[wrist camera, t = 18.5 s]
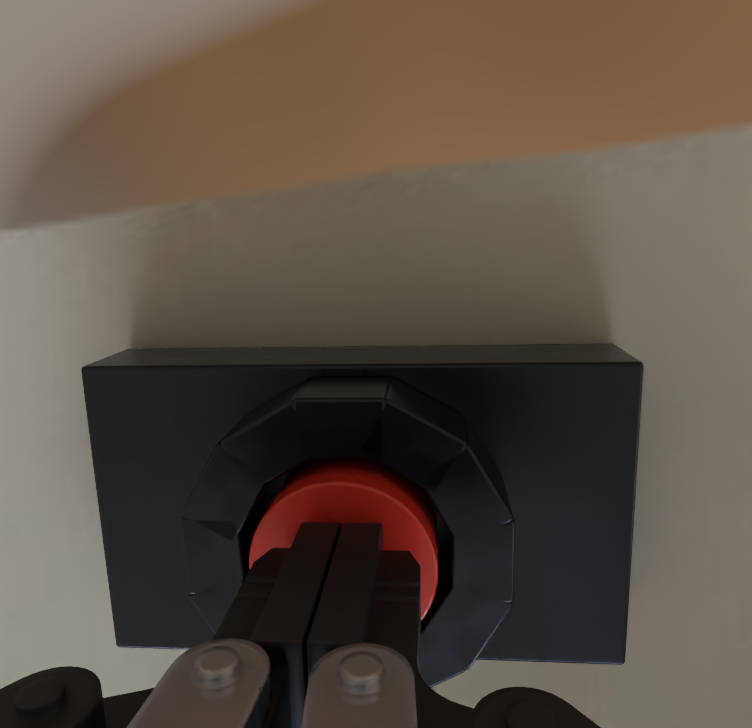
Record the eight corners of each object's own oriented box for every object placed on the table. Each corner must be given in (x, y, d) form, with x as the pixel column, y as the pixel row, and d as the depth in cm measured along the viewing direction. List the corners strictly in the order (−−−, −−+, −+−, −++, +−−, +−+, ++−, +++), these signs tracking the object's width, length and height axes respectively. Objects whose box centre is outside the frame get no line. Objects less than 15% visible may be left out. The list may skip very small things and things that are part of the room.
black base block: (154, 597, 17) (74, 703, 13) (126, 348, 16) (27, 386, 12) (600, 608, 16) (653, 728, 12) (614, 343, 15) (679, 383, 11)
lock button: (275, 601, 14) (254, 653, 12) (265, 448, 13) (241, 481, 12) (438, 606, 14) (438, 660, 12) (436, 449, 13) (437, 483, 11)
